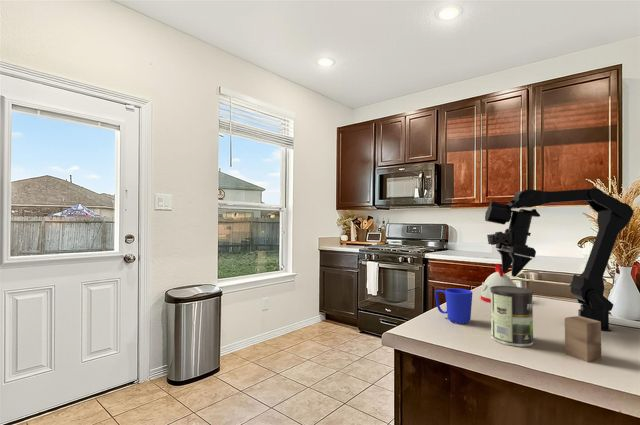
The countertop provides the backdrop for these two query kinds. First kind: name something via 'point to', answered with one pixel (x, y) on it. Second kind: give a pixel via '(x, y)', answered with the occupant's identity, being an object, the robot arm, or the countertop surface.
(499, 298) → the coffee can
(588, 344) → the walnut block
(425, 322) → the countertop surface
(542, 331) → the countertop surface
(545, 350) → the countertop surface
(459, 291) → the mug
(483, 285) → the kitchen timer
